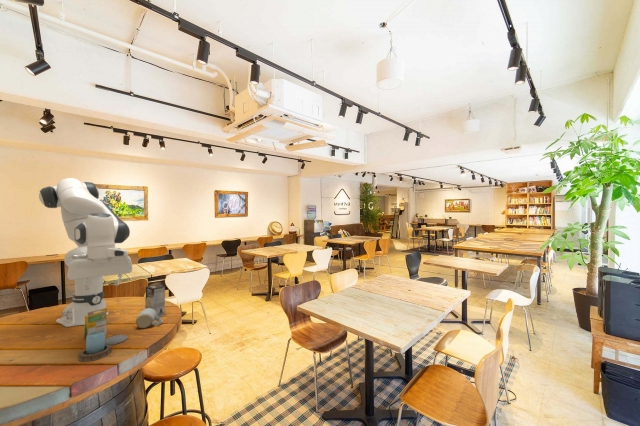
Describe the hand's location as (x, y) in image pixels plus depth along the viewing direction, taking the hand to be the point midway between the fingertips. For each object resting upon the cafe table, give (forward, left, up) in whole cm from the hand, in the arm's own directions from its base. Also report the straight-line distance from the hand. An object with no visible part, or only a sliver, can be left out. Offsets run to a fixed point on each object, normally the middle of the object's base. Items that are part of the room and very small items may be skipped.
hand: (102, 287), depth 107 cm
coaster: (-4, +8, -25) cm, 26 cm away
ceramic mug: (-5, +25, -25) cm, 36 cm away
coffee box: (-15, +36, -25) cm, 46 cm away
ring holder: (+2, -3, -25) cm, 25 cm away
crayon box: (-18, +9, -25) cm, 32 cm away
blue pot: (+1, -2, -25) cm, 25 cm away
